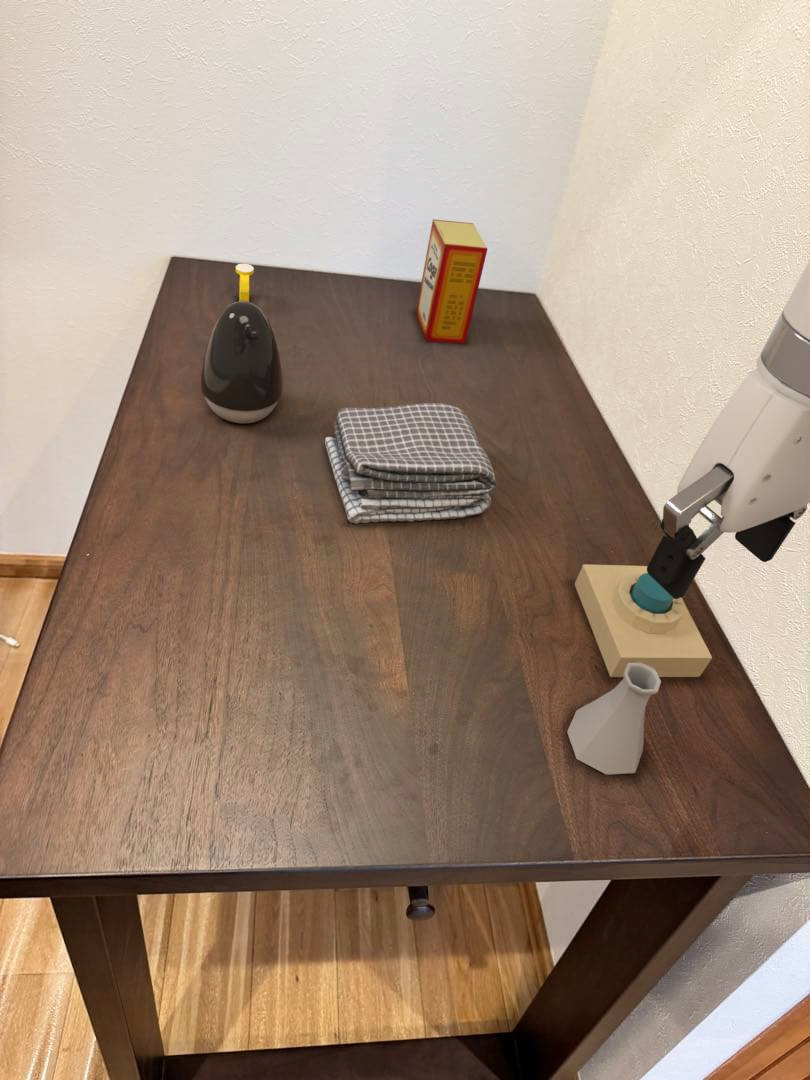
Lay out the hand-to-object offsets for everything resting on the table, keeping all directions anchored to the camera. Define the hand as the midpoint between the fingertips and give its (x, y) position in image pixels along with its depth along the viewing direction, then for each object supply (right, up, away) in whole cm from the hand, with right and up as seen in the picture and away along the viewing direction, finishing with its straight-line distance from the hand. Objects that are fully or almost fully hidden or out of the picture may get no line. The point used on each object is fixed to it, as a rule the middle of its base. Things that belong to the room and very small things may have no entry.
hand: (709, 566), depth 58 cm
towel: (-23, +9, +40) cm, 46 cm away
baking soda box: (-17, +37, +71) cm, 82 cm away
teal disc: (+3, -4, +24) cm, 25 cm away
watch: (-48, +39, +67) cm, 91 cm away
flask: (-4, -17, +16) cm, 24 cm away
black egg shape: (-44, +19, +45) cm, 65 cm away
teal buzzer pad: (+2, -8, +27) cm, 28 cm away
